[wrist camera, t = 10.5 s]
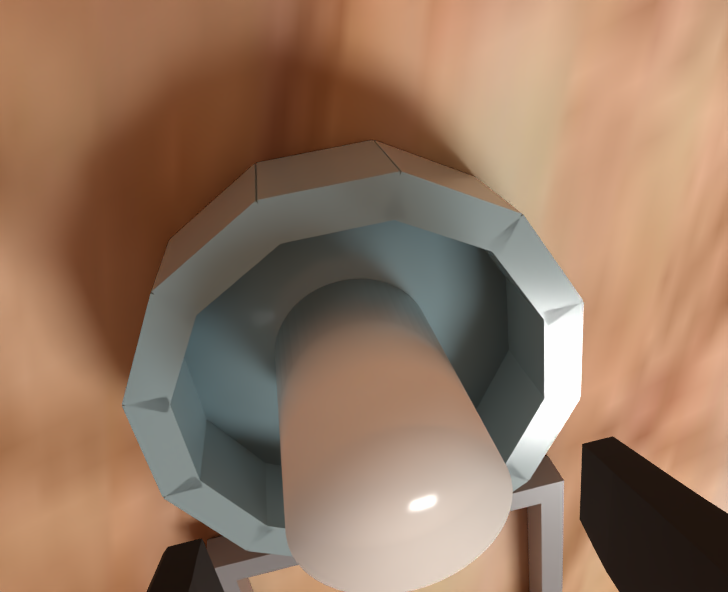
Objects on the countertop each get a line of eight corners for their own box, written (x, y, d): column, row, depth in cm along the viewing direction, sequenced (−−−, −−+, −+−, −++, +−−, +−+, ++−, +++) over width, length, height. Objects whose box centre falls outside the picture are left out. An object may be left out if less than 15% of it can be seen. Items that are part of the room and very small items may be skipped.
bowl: (214, 515, 19) (207, 598, 16) (87, 195, 14) (48, 241, 11) (533, 437, 20) (577, 504, 17) (528, 109, 15) (589, 133, 12)
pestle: (293, 427, 17) (311, 616, 12) (258, 298, 15) (260, 458, 10) (436, 393, 17) (515, 563, 12) (421, 263, 15) (509, 400, 10)
